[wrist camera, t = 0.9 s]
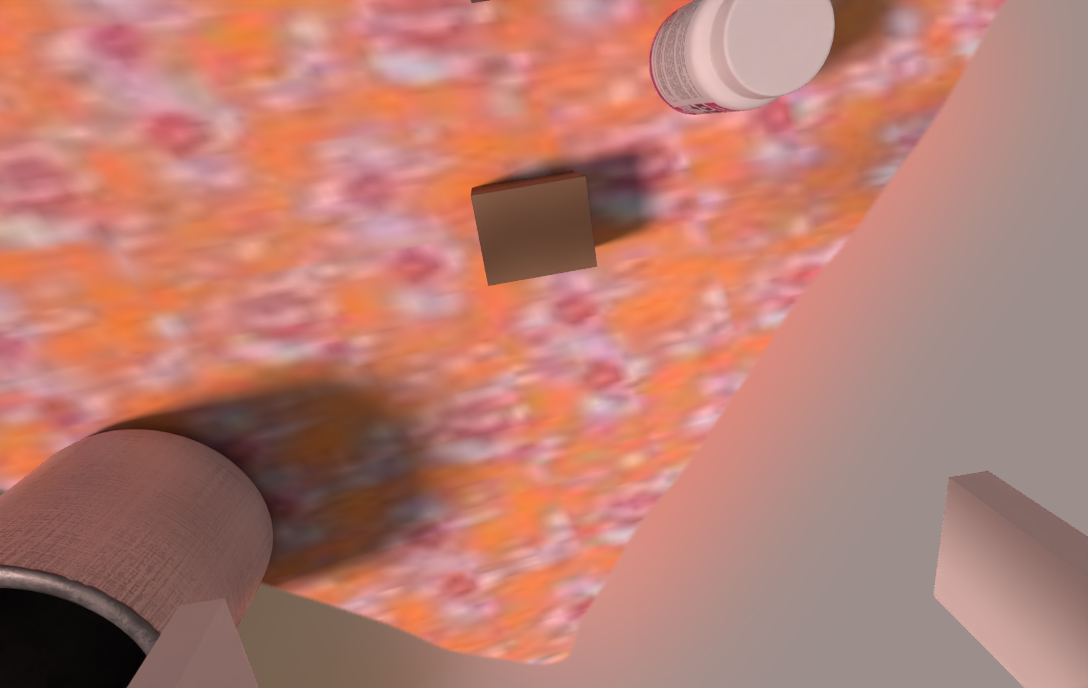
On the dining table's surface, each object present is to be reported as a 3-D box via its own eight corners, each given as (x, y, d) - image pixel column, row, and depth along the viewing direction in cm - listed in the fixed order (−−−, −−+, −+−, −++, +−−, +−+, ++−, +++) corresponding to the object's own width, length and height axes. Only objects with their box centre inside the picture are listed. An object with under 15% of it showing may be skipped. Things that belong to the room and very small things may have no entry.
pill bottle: (667, 132, 29) (737, 132, 21) (630, 33, 28) (691, -7, 20) (757, 88, 29) (861, 70, 21) (725, -15, 27) (825, -75, 20)
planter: (285, 437, 33) (194, 581, 22) (272, 620, 36) (188, 817, 26) (28, 406, 31) (-207, 548, 20) (42, 603, 34) (-149, 809, 24)
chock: (471, 187, 29) (470, 195, 26) (572, 171, 30) (585, 176, 26) (486, 267, 31) (488, 285, 27) (582, 250, 31) (597, 266, 27)
